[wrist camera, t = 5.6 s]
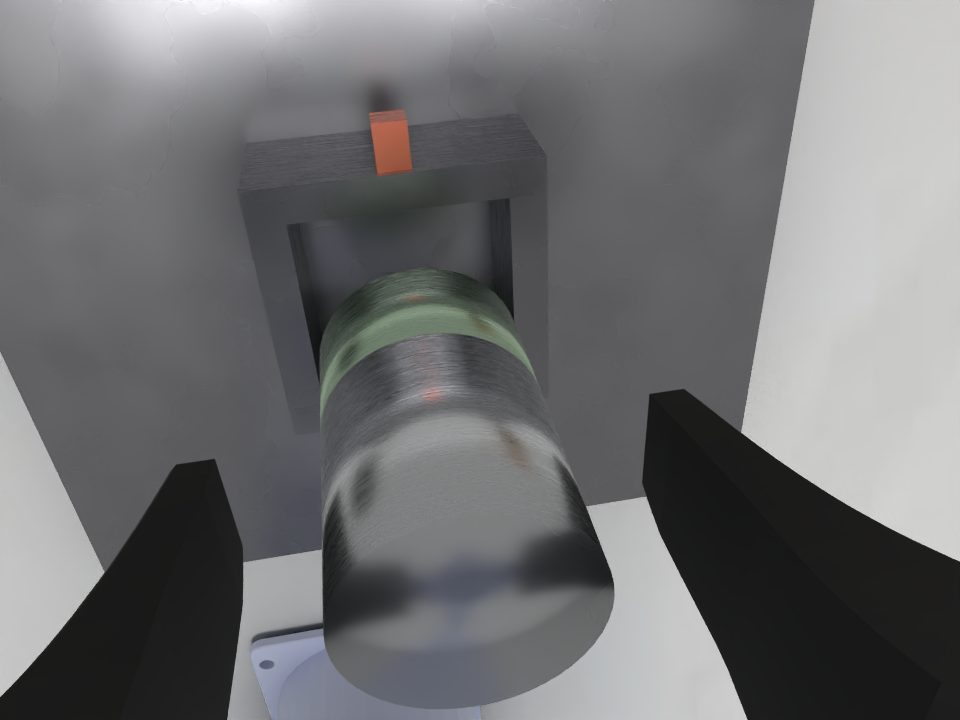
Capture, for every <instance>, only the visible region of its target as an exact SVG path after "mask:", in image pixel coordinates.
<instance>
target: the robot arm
mask: <svg viewBox="0 0 960 720" xmlns="http://www.w3.org/2000/svg"><path fill="white" fill-rule="evenodd" d="M642 485H643V488H644V491H645V493H646V496H647V499H648V502H649V505H650V508H651V511H652V514H653V516H654V519H655V522H656V524H657V527H658V530H659V533H660V535H661V537H662V539H663V541H664V543H665V545H666V547H667V549H668V551H669V553H670V555H671V557H672V559H673V561H674V563H675V565H676V567H677V569H678V571H679V573H680V575H681V577H682V579H683V581H684V583H685V585H686V587H687V588H688V590H689V592H690V594H691V596H692V598H693V600H694V602H695V604H696V606H697V608H698V610H699V612H700V614H701V616H702V618H703V619H704V621H705V623H706V625H707V627H708V629H709V631H710V633H711V635H712V637H713V639H714V641H715V643H716V645H717V647H718V649H719V651H720V653H721V655H722V658H723V660H724V662H725V664H726V666H727V668H728V671H729V673H730V676H731V678H732V681H733V684H734V686H735V689H736V691H737V694H738V696H739V699H740V701H741V704H742V707H743V709H744V712H745V714H746V717H747V719H748V720H960V562H959V561H957V560H955V559H952V558H950V557H948V556H946V555H944V554H942V553H939V552H937V551H935V550H933V549H931V548H929V547H927V546H924V545H922V544H920V543H918V542H916V541H914V540H912V539H910V538H908V537H906V536H904V535H902V534H900V533H898V532H896V531H894V530H892V529H890V528H888V527H886V526H884V525H882V524H881V523H879V522H877V521H875V520H873V519H871V518H870V517H868V516H866V515H864V514H862V513H861V512H859V511H857V510H855V509H853V508H852V507H850V506H848V505H846V504H845V503H843V502H841V501H840V500H838V499H836V498H835V497H833V496H831V495H830V494H828V493H827V492H825V491H824V490H822V489H821V488H819V487H817V486H816V485H814V484H813V483H811V482H810V481H808V480H807V479H805V478H804V477H802V476H800V475H799V474H797V473H796V472H795V471H793V470H792V469H790V468H789V467H787V466H786V465H784V464H783V463H781V462H780V461H779V460H777V459H776V458H774V457H773V456H772V455H770V454H769V453H768V452H766V451H765V450H763V449H762V448H761V447H759V446H758V445H757V444H755V443H754V442H753V441H751V440H750V439H749V438H747V437H746V436H745V435H743V434H742V433H741V432H739V431H738V430H737V429H735V428H734V427H733V426H732V425H730V424H729V423H728V422H726V421H725V420H724V419H723V418H721V417H720V416H719V415H717V414H716V413H715V412H714V411H712V410H711V409H710V408H708V407H707V406H706V405H705V404H703V403H702V402H701V401H700V400H698V399H697V398H696V397H694V396H693V395H692V394H690V393H689V392H688V391H686V390H685V389H679V390H672V391H665V392H659V393H652V394H649V404H648V416H647V428H646V440H645V452H644V464H643V476H642ZM242 606H243V545H242V542H241V539H240V536H239V532H238V529H237V526H236V523H235V520H234V517H233V514H232V511H231V507H230V504H229V501H228V498H227V495H226V492H225V489H224V486H223V482H222V479H221V476H220V473H219V470H218V467H217V464H216V461H215V459H209V460H203V461H196V462H189V463H182V464H176V465H175V466H174V467H173V469H172V470H171V471H170V473H169V474H168V476H167V478H166V479H165V481H164V482H163V484H162V486H161V487H160V489H159V491H158V492H157V494H156V496H155V497H154V499H153V500H152V502H151V504H150V505H149V507H148V508H147V510H146V512H145V513H144V515H143V516H142V518H141V519H140V521H139V523H138V524H137V526H136V527H135V529H134V530H133V532H132V533H131V535H130V536H129V538H128V539H127V541H126V542H125V544H124V545H123V547H122V548H121V550H120V551H119V553H118V554H117V555H116V557H115V558H114V560H113V561H112V563H111V564H110V566H109V567H108V569H107V570H106V571H105V573H104V574H103V576H102V577H101V578H100V580H99V581H98V582H97V584H96V585H95V586H94V588H93V589H92V590H91V592H90V593H89V594H88V596H87V597H86V598H85V600H84V601H83V602H82V604H81V605H80V606H79V608H78V609H77V610H76V612H75V613H74V614H73V616H72V617H71V618H70V619H69V621H68V622H67V623H66V624H65V626H64V627H63V628H62V629H61V630H60V632H59V633H58V634H57V635H56V637H55V638H54V639H53V640H52V641H51V642H50V644H49V645H48V646H47V647H46V648H45V649H44V651H43V652H42V653H41V654H40V655H39V656H38V657H37V659H36V660H35V661H34V662H33V663H32V664H31V665H30V666H29V668H28V669H27V670H26V671H25V672H24V673H23V674H22V675H21V676H20V677H19V679H18V680H17V681H16V682H15V683H14V684H13V685H12V686H11V687H10V688H9V689H8V690H7V691H6V692H5V693H4V694H3V695H2V696H1V697H0V720H227V716H228V709H229V702H230V695H231V687H232V680H233V673H234V666H235V659H236V652H237V644H238V637H239V629H240V622H241V614H242ZM250 660H251V662H252V665H253V668H254V671H255V674H256V677H257V679H258V682H259V685H260V688H261V691H262V694H263V696H264V699H265V702H266V705H267V708H268V711H269V713H270V716H271V719H272V720H481V711H480V706H474V707H467V708H458V709H422V708H412V707H406V706H401V705H396V704H393V703H389V702H386V701H382V700H380V699H377V698H375V697H373V696H370V695H368V694H366V693H364V692H363V691H361V690H359V689H358V688H356V687H354V686H353V685H352V684H351V683H349V682H348V681H347V680H346V679H344V677H343V676H342V675H341V674H340V673H339V672H338V671H337V670H336V668H335V667H334V665H333V664H332V662H331V660H330V659H329V656H328V653H327V651H326V648H325V643H324V636H323V629H317V630H311V631H305V632H300V633H294V634H288V635H282V636H276V637H271V638H265V639H260V640H257V641H256V642H254V643H253V644H252V645H251V647H250Z"/></svg>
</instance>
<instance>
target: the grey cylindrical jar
mask: <svg viewBox="0 0 960 720" xmlns="http://www.w3.org/2000/svg"><path fill="white" fill-rule="evenodd" d="M320 431H321V505H322V580H323V636H324V643H325V648H326V651H327V653H328V656H329V659H330V660H331V662H332V664H333V665H334V667H335V668H336V670H337V671H338V672H339V673H340V674H341V675H342V676H343V677H344V679H346V680H347V681H348V682H349V683H351V684H352V685H353V686H354V687H356V688H358V689H359V690H361V691H363V692H364V693H366V694H368V695H370V696H373V697H375V698H377V699H380V700H382V701H386V702H389V703H393V704H396V705H401V706H406V707H412V708H422V709H458V708H467V707H474V706H481V705H485V704H489V703H494V702H498V701H501V700H505V699H508V698H511V697H514V696H517V695H519V694H522V693H524V692H527V691H530V690H532V689H534V688H536V687H538V686H540V685H542V684H544V683H546V682H548V681H549V680H551V679H553V678H554V677H556V676H558V675H559V674H561V673H562V672H563V671H565V670H566V669H568V668H569V667H570V666H572V665H573V664H574V663H575V662H576V661H578V660H579V659H580V658H581V657H582V656H583V655H584V654H585V653H586V652H587V651H588V650H589V649H590V648H591V647H592V646H593V644H594V643H595V642H596V640H597V639H598V638H599V636H600V635H601V633H602V632H603V630H604V628H605V626H606V624H607V622H608V620H609V617H610V614H611V611H612V608H613V602H614V582H613V578H612V574H611V570H610V568H609V565H608V563H607V560H606V558H605V555H604V552H603V550H602V547H601V545H600V542H599V540H598V537H597V534H596V532H595V529H594V527H593V524H592V521H591V519H590V516H589V514H588V511H587V509H586V506H585V503H584V501H583V498H582V496H581V493H580V491H579V488H578V485H577V483H576V480H575V478H574V475H573V472H572V470H571V467H570V465H569V462H568V460H567V457H566V454H565V452H564V449H563V447H562V444H561V441H560V439H559V436H558V434H557V431H556V429H555V426H554V423H553V421H552V418H551V416H550V413H549V411H548V408H547V405H546V403H545V400H544V398H543V395H542V392H541V390H540V387H539V385H538V382H537V380H536V377H535V374H534V372H533V369H532V367H531V364H530V361H529V359H528V356H527V354H526V351H525V349H524V346H523V343H522V341H521V338H520V336H519V333H518V331H517V328H516V325H515V323H514V320H513V318H512V316H511V314H510V312H509V310H508V309H507V307H506V306H505V304H504V303H503V301H502V300H501V299H500V298H499V297H498V296H497V295H496V294H495V293H494V292H493V291H492V290H490V289H489V288H488V287H487V286H485V285H484V284H482V283H480V282H479V281H477V280H475V279H473V278H471V277H468V276H466V275H464V274H460V273H457V272H454V271H450V270H444V269H436V268H417V269H408V270H402V271H397V272H394V273H390V274H387V275H384V276H382V277H379V278H377V279H375V280H373V281H371V282H369V283H367V284H366V285H364V286H362V287H361V288H359V289H358V290H356V291H355V292H354V293H353V294H351V295H350V296H349V297H348V298H347V299H346V300H345V301H344V302H343V303H342V304H341V305H340V306H339V307H338V309H337V310H336V311H335V313H334V314H333V315H332V317H331V319H330V321H329V322H328V324H327V326H326V329H325V331H324V334H323V337H322V341H321V346H320Z"/></svg>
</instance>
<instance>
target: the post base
mask: <svg viewBox="0 0 960 720" xmlns="http://www.w3.org/2000/svg"><path fill="white" fill-rule="evenodd" d="M813 6H814V0H0V352H1V354H2V356H3V358H4V360H5V363H6V365H7V367H8V369H9V371H10V373H11V375H12V377H13V379H14V382H15V384H16V386H17V388H18V390H19V392H20V394H21V396H22V398H23V401H24V403H25V405H26V407H27V409H28V411H29V413H30V415H31V417H32V420H33V422H34V424H35V426H36V428H37V430H38V432H39V434H40V436H41V439H42V441H43V443H44V445H45V447H46V449H47V451H48V453H49V455H50V458H51V460H52V462H53V464H54V466H55V468H56V470H57V472H58V474H59V477H60V479H61V481H62V483H63V485H64V487H65V489H66V491H67V493H68V496H69V498H70V500H71V502H72V504H73V506H74V508H75V510H76V512H77V515H78V517H79V519H80V521H81V523H82V525H83V527H84V529H85V531H86V534H87V536H88V538H89V540H90V542H91V544H92V546H93V548H94V550H95V553H96V555H97V557H98V559H99V561H100V563H101V565H102V567H103V569H104V572H105V571H106V570H107V569H108V567H109V566H110V564H111V563H112V561H113V560H114V558H115V557H116V555H117V554H118V553H119V551H120V550H121V548H122V547H123V545H124V544H125V542H126V541H127V539H128V538H129V536H130V535H131V533H132V532H133V530H134V529H135V527H136V526H137V524H138V523H139V521H140V519H141V518H142V516H143V515H144V513H145V512H146V510H147V508H148V507H149V505H150V504H151V502H152V500H153V499H154V497H155V496H156V494H157V492H158V491H159V489H160V487H161V486H162V484H163V482H164V481H165V479H166V478H167V476H168V474H169V473H170V471H171V470H172V469H173V467H174V466H175V465H176V464H182V463H189V462H196V461H203V460H209V459H215V461H216V464H217V467H218V470H219V473H220V476H221V479H222V482H223V486H224V489H225V492H226V495H227V498H228V501H229V504H230V507H231V511H232V514H233V517H234V520H235V523H236V526H237V529H238V532H239V536H240V539H241V542H242V545H243V562H247V561H253V560H259V559H265V558H271V557H278V556H284V555H290V554H296V553H302V552H308V551H314V550H321V549H322V505H321V431H320V346H321V341H322V337H323V334H324V331H325V329H326V326H327V324H328V322H329V321H330V319H331V317H332V315H333V314H334V313H335V311H336V310H337V309H338V307H339V306H340V305H341V304H342V303H343V302H344V301H345V300H346V299H347V298H348V297H349V296H350V295H351V294H353V293H354V292H355V291H356V290H358V289H359V288H361V287H362V286H364V285H366V284H367V283H369V282H371V281H373V280H375V279H377V278H379V277H382V276H384V275H387V274H390V273H394V272H397V271H402V270H408V269H417V268H436V269H444V270H450V271H454V272H457V273H460V274H464V275H466V276H468V277H471V278H473V279H475V280H477V281H479V282H480V283H482V284H484V285H485V286H487V287H488V288H489V289H490V290H492V291H493V292H494V293H495V294H496V295H497V296H498V297H499V298H500V299H501V300H502V301H503V303H504V304H505V306H506V307H507V309H508V310H509V312H510V314H511V316H512V318H513V320H514V323H515V325H516V328H517V331H518V333H519V336H520V338H521V341H522V343H523V346H524V349H525V351H526V354H527V356H528V359H529V361H530V364H531V367H532V369H533V372H534V374H535V377H536V380H537V382H538V385H539V387H540V390H541V392H542V395H543V398H544V400H545V403H546V405H547V408H548V411H549V413H550V416H551V418H552V421H553V423H554V426H555V429H556V431H557V434H558V436H559V439H560V441H561V444H562V447H563V449H564V452H565V454H566V457H567V460H568V462H569V465H570V467H571V470H572V472H573V475H574V478H575V480H576V483H577V485H578V488H579V491H580V493H581V496H582V498H583V501H584V503H585V506H590V505H597V504H603V503H609V502H615V501H621V500H627V499H633V498H639V497H646V493H645V491H644V488H643V485H642V476H643V464H644V452H645V440H646V428H647V416H648V404H649V394H652V393H659V392H665V391H672V390H679V389H685V390H686V391H688V392H689V393H690V394H692V395H693V396H694V397H696V398H697V399H698V400H700V401H701V402H702V403H703V404H705V405H706V406H707V407H708V408H710V409H711V410H712V411H714V412H715V413H716V414H717V415H719V416H720V417H721V418H723V419H724V420H725V421H726V422H728V423H729V424H730V425H732V426H733V427H734V428H735V429H737V430H738V431H739V432H741V429H742V423H743V417H744V412H745V406H746V400H747V394H748V388H749V382H750V376H751V370H752V365H753V359H754V353H755V347H756V341H757V335H758V329H759V323H760V318H761V312H762V306H763V300H764V294H765V288H766V282H767V276H768V271H769V265H770V259H771V253H772V247H773V241H774V235H775V229H776V224H777V218H778V212H779V206H780V200H781V194H782V188H783V182H784V177H785V171H786V165H787V159H788V153H789V147H790V141H791V135H792V130H793V124H794V118H795V112H796V106H797V100H798V94H799V88H800V83H801V77H802V71H803V65H804V59H805V53H806V47H807V41H808V36H809V30H810V24H811V18H812V12H813Z"/></svg>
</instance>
